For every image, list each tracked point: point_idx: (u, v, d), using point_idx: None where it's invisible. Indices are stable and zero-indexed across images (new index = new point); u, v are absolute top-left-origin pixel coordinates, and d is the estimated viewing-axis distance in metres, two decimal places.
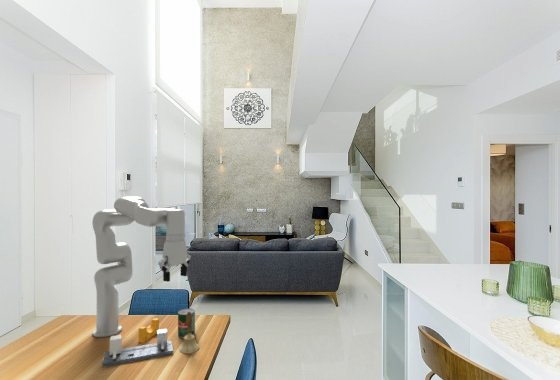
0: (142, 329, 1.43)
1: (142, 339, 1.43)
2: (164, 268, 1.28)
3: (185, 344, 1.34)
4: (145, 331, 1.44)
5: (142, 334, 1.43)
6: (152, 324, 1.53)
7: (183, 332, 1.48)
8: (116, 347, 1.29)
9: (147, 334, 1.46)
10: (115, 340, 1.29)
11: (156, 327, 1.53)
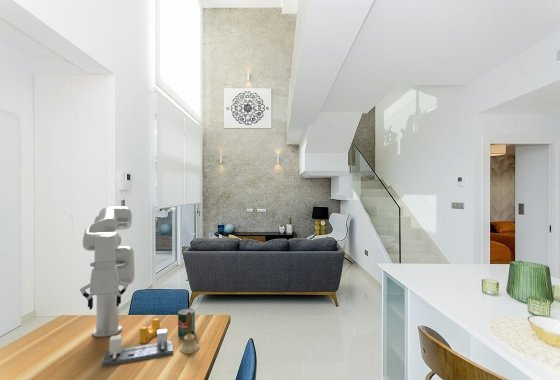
0: (143, 329, 1.43)
1: (143, 339, 1.43)
2: None
3: (185, 344, 1.34)
4: (146, 331, 1.44)
5: (143, 334, 1.43)
6: (153, 324, 1.53)
7: (183, 332, 1.48)
8: (116, 347, 1.29)
9: (148, 334, 1.46)
10: (115, 340, 1.29)
11: (157, 327, 1.53)
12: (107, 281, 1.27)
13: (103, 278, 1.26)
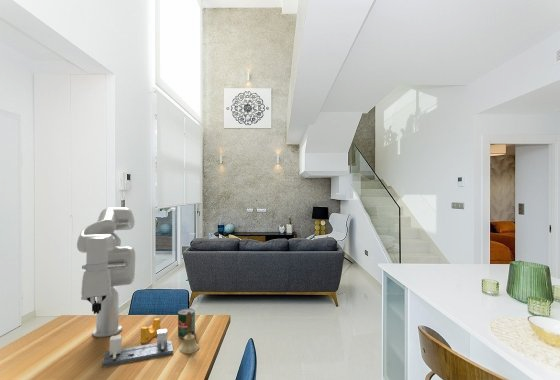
0: (144, 329, 1.43)
1: (144, 339, 1.43)
2: None
3: (185, 344, 1.34)
4: (147, 331, 1.44)
5: (144, 334, 1.43)
6: (154, 324, 1.53)
7: (183, 332, 1.48)
8: (116, 347, 1.29)
9: (149, 334, 1.46)
10: (115, 340, 1.29)
11: (158, 327, 1.53)
12: (99, 283, 1.26)
13: (95, 281, 1.26)
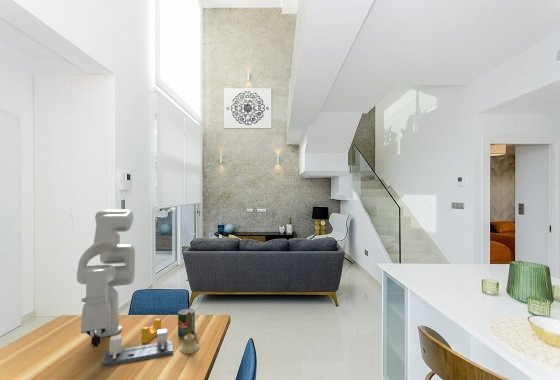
0: (145, 329, 1.43)
1: (145, 339, 1.43)
2: None
3: (185, 344, 1.34)
4: (148, 331, 1.44)
5: (145, 334, 1.43)
6: (154, 324, 1.52)
7: (183, 332, 1.48)
8: (116, 347, 1.29)
9: (150, 334, 1.45)
10: (115, 340, 1.29)
11: (158, 327, 1.53)
12: (99, 316, 1.26)
13: (94, 314, 1.25)
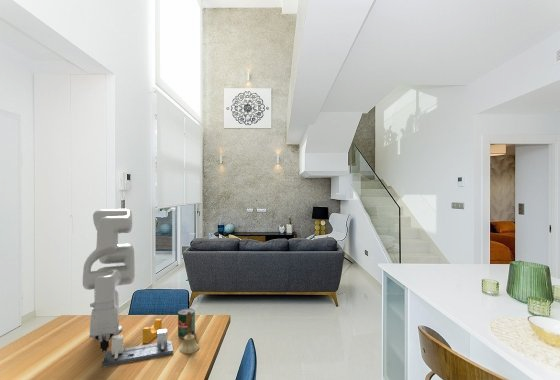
0: (146, 329, 1.43)
1: (146, 340, 1.43)
2: None
3: (185, 344, 1.34)
4: (149, 331, 1.44)
5: (146, 334, 1.43)
6: (155, 324, 1.52)
7: (183, 332, 1.48)
8: (118, 347, 1.29)
9: (151, 334, 1.45)
10: (117, 340, 1.29)
11: (159, 327, 1.52)
12: (107, 321, 1.27)
13: (103, 319, 1.27)
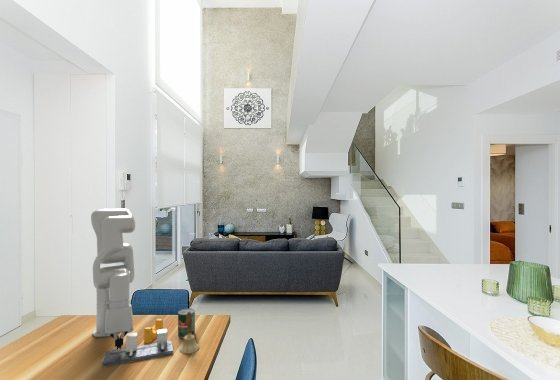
0: (148, 330, 1.43)
1: (148, 340, 1.43)
2: None
3: (185, 344, 1.34)
4: (151, 331, 1.44)
5: (148, 335, 1.43)
6: (156, 325, 1.52)
7: (183, 332, 1.48)
8: (132, 345, 1.31)
9: (152, 334, 1.45)
10: (131, 337, 1.31)
11: (160, 327, 1.52)
12: (122, 319, 1.29)
13: (118, 317, 1.29)
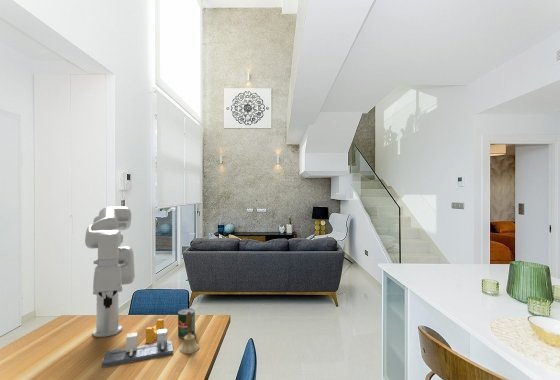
0: (149, 330, 1.43)
1: (149, 340, 1.42)
2: None
3: (185, 344, 1.34)
4: (152, 331, 1.44)
5: (149, 335, 1.43)
6: (157, 324, 1.52)
7: (183, 332, 1.48)
8: (133, 345, 1.31)
9: (154, 334, 1.45)
10: (131, 337, 1.31)
11: (161, 327, 1.52)
12: (111, 278, 1.28)
13: (106, 276, 1.27)
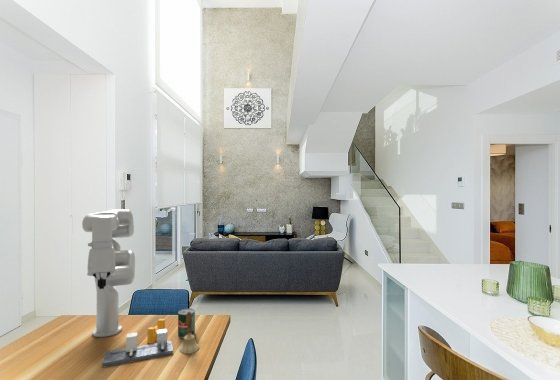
0: (151, 330, 1.42)
1: (151, 340, 1.42)
2: None
3: (185, 344, 1.34)
4: (154, 332, 1.44)
5: (151, 335, 1.42)
6: (159, 325, 1.52)
7: (183, 332, 1.48)
8: (133, 345, 1.31)
9: (156, 335, 1.45)
10: (131, 337, 1.31)
11: (163, 327, 1.52)
12: (105, 260, 1.33)
13: (100, 258, 1.32)
